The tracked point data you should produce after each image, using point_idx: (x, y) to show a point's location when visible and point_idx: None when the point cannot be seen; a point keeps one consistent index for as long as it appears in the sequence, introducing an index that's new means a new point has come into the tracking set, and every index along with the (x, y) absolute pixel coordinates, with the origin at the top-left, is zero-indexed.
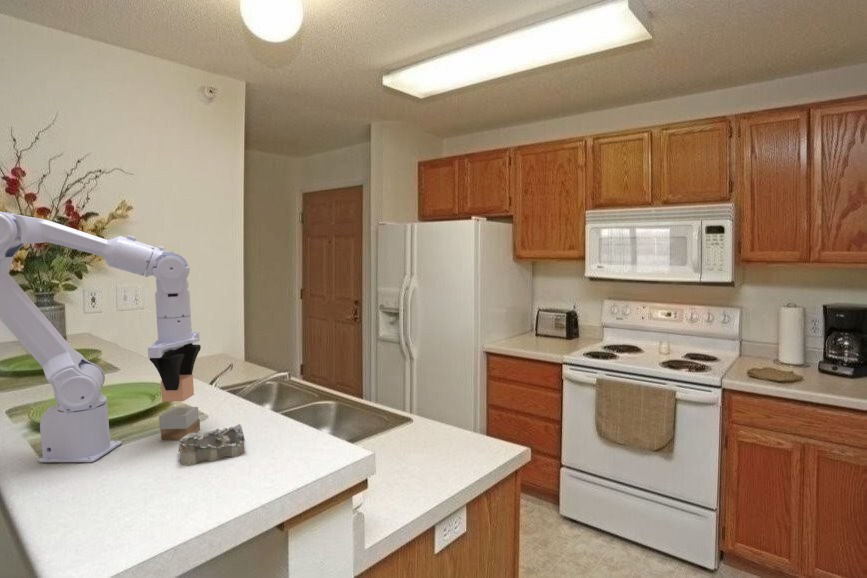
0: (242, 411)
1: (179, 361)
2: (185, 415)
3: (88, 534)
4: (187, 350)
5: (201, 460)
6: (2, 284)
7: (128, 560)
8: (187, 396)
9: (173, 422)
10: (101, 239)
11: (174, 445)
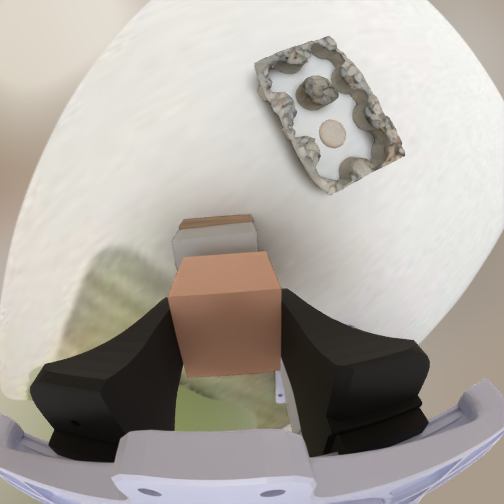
0: (60, 184)
1: (359, 344)
2: (254, 233)
3: (497, 190)
4: (138, 422)
5: (356, 124)
6: None
7: None
8: (232, 257)
9: None
10: None
11: (281, 227)
